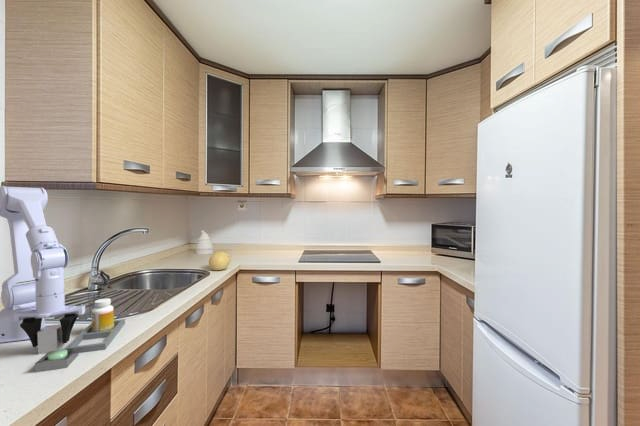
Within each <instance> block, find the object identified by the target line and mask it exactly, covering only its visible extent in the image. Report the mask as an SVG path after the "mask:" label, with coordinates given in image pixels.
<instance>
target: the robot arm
mask: <svg viewBox="0 0 640 426" xmlns="http://www.w3.org/2000/svg"><path fill="white" fill-rule="evenodd" d="M48 200H49V197H48V192H47V190H46V189H45V188H44V187H41V186H40V187H25V186H24V187H23V186H22V187H21V186H5V185H0V217H2V218H4V219H7V220H6V221H7V223H8V226H9V235H10V242H11V244H10V245H11V254H12V263H13V271H14V272H13V273H14V274H12V275H10V276H9V277H8V278H6V279H5V280H4V281H3V282H2V284H1V294H0V296H1V297H0V298H1V303H2V306H3V307H4V308H2V309H1V310H0V344H1V343H2V344H3V343H9V342H17V341H19V342H20V341H27V340H30V342H31V345H32V348H38V331H39V330H41V329H42V328H44V327H45V326H46V319H45V318H53V317H61V318H59V324H61V328H62V343H63V344H67V343H68V342H69V341H70V338H71V333H72V330H73V328H74V325H75V323H76V321H77V319H78V317H79V316H82V315H84V314H85V313H86V305H66V300H65V299H66V293H65V287H66V286H65V285H66V284H65V268H67V266H68V264H69V253H68V250H67V248H66V247H65V246H63V244H61V243H60V242H59V241H58V239H57V236H56V232H55V231H54V228H52V227H51V226H47V222H46V219H45V215H44V214H45V213H44V210H45V208H46V206H47V204H48Z"/></svg>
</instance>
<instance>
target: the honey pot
mask: <svg viewBox="0 0 640 426" xmlns="http://www.w3.org/2000/svg"><path fill="white" fill-rule="evenodd" d="M200 232H201V235H200V236H199V238H197V240H198V241H197V244H196V246H195V254H196V255H209V254H214V246H213V243H212V240H211V237H210V236H209V234H208V233H207V232H205V230H200Z"/></svg>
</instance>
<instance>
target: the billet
mask: <svg viewBox="0 0 640 426" xmlns="http://www.w3.org/2000/svg"><path fill="white" fill-rule="evenodd" d="M65 345H66V343H64V344H63V343H62V328H61V324H60V323H59V324H52V325H51V324H50V325H45V327H44V328H42V329H41V330H39V331H38V346H37V355H46V354H47V353H48V352H49V351H57V350H62V348H63V347H65Z"/></svg>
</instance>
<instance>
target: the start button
mask: <svg viewBox="0 0 640 426" xmlns="http://www.w3.org/2000/svg"><path fill="white" fill-rule="evenodd" d="M66 356H67V350H65V348H64V349H60V350H57V351H54V352H51V353H50V354H48V360H54V359H61V358H65V357H66Z"/></svg>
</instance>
